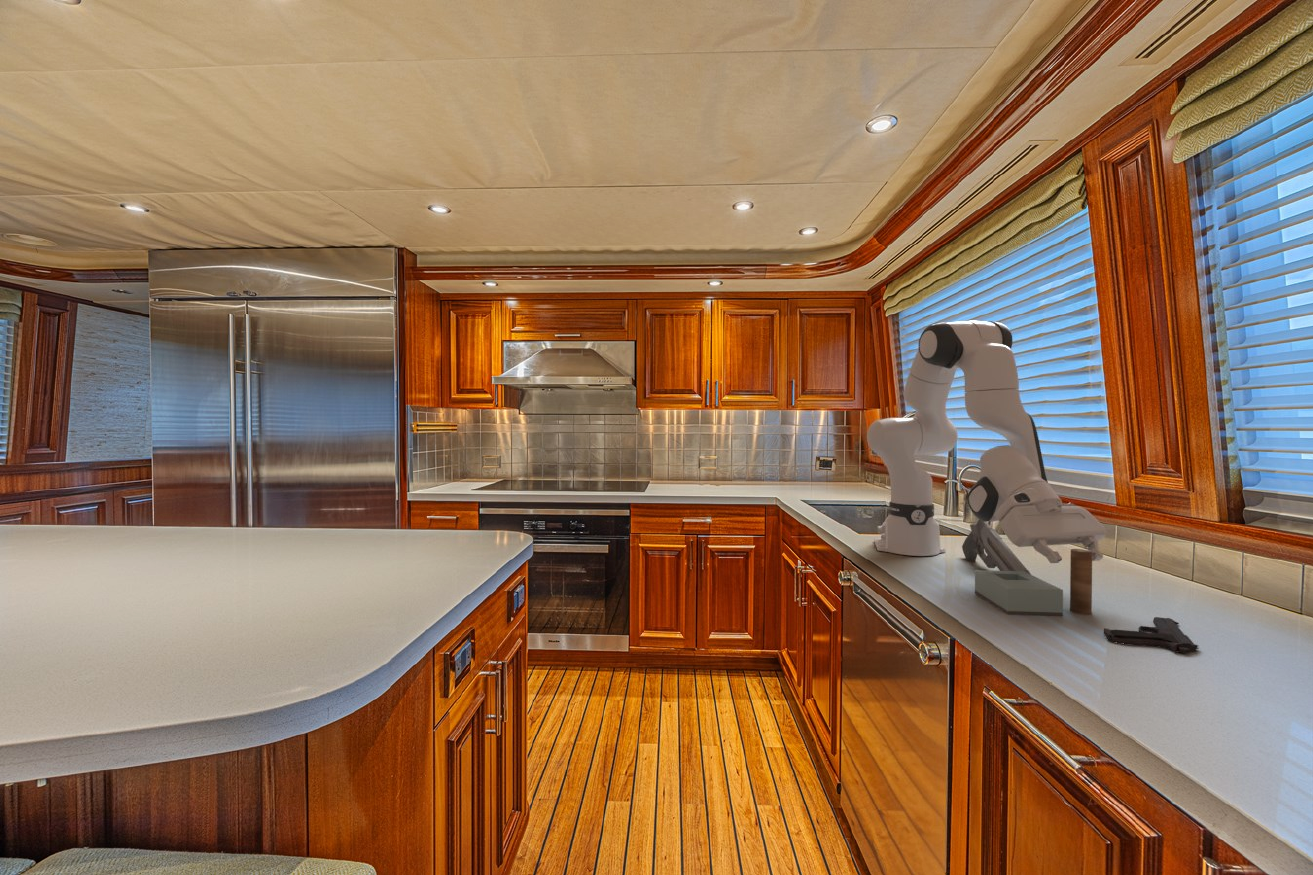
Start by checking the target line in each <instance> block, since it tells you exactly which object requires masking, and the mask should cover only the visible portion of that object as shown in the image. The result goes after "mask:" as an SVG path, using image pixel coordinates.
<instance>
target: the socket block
mask: <svg viewBox="0 0 1313 875" xmlns="http://www.w3.org/2000/svg"><path fill="white" fill-rule="evenodd" d="M1030 574H1031V573H1030ZM1030 574H1028V573H1026V572H1024V571H1000V570H990V569H989V570H985V569H983V570H982V569H975V570H974V593H975V594H976V595H978V596H979V597H980V598H981V599H983V600H985V601H986V602H988V603H990V604H992V605H993V606H994V607H995V608H996V607H997V609H998V610H1001V612H1003V613H1005V614H1006V615H1024V616H1025V615H1027V616H1030V615H1031V616H1053V617H1054V616H1056V617H1058V616H1059V617H1060V616H1061V617H1062V616H1063V615H1064V613H1063V612H1064V589H1061V588H1060V587H1057V586H1056V585H1053V584H1051V583H1049V582H1047V581H1046V580H1043V579H1041V578H1039V577H1036V576H1035V575H1032V574H1031V575H1030Z"/></svg>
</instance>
